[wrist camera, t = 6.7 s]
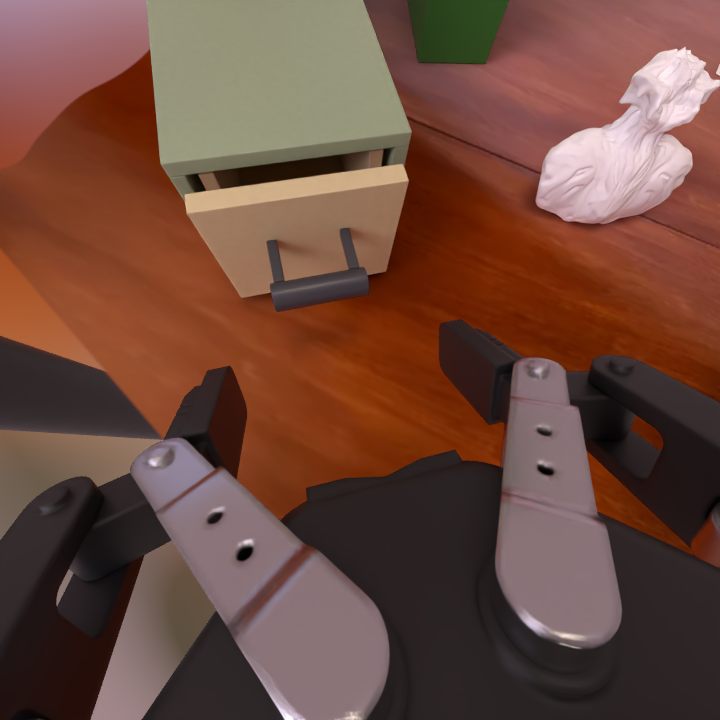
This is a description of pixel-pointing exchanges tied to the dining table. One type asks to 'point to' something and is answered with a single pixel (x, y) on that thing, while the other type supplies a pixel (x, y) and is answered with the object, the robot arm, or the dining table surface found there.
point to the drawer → (302, 225)
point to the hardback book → (455, 29)
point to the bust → (629, 147)
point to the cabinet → (268, 85)
